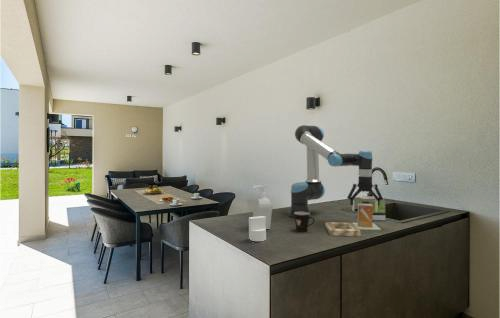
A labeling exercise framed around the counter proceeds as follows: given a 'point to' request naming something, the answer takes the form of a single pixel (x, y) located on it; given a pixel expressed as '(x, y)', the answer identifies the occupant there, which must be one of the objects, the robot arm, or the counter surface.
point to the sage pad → (367, 227)
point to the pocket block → (342, 229)
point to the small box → (365, 215)
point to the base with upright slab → (257, 228)
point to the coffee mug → (302, 221)
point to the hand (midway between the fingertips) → (364, 210)
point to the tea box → (371, 200)
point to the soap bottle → (262, 206)
